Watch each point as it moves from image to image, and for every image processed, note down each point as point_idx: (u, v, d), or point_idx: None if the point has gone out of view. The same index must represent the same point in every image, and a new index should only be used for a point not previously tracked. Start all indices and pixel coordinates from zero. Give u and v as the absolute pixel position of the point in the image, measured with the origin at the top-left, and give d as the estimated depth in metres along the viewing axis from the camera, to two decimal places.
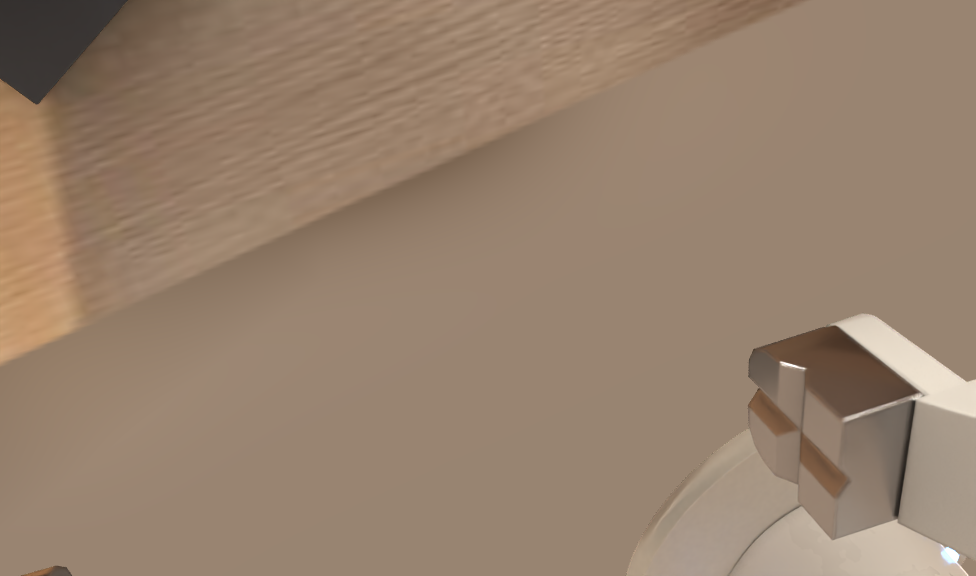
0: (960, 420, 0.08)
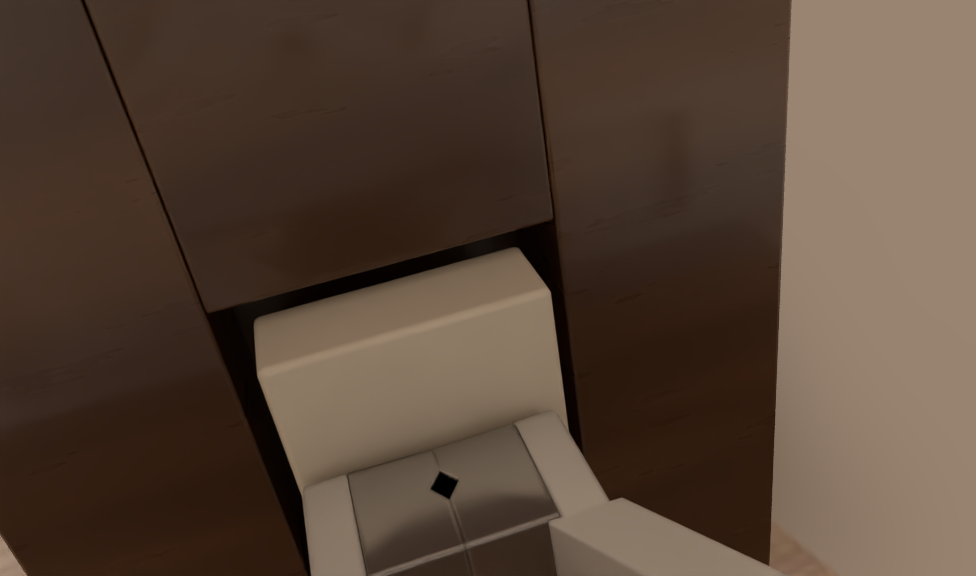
0: (583, 549, 0.07)
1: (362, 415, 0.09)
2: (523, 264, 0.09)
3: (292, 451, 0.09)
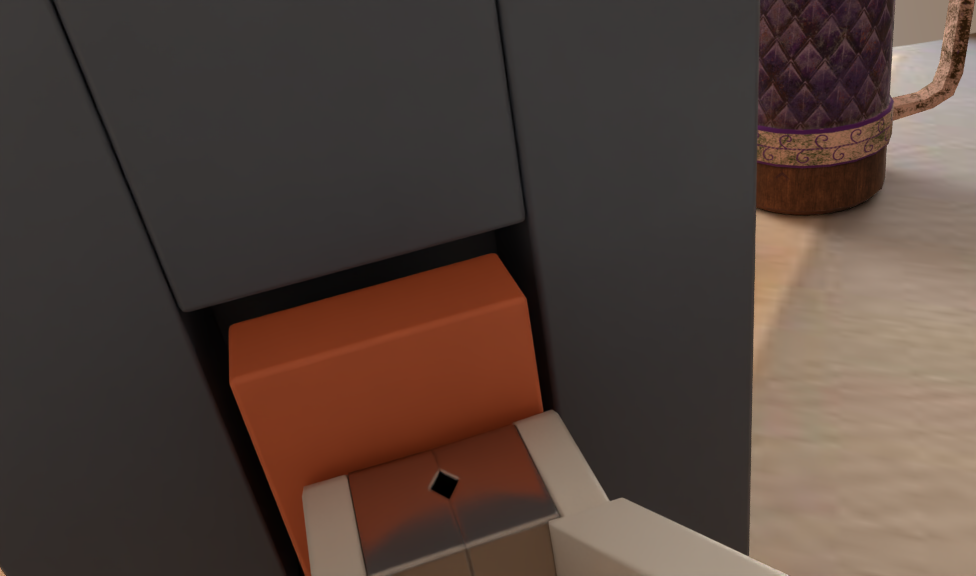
0: (583, 549, 0.07)
1: None
2: None
3: None
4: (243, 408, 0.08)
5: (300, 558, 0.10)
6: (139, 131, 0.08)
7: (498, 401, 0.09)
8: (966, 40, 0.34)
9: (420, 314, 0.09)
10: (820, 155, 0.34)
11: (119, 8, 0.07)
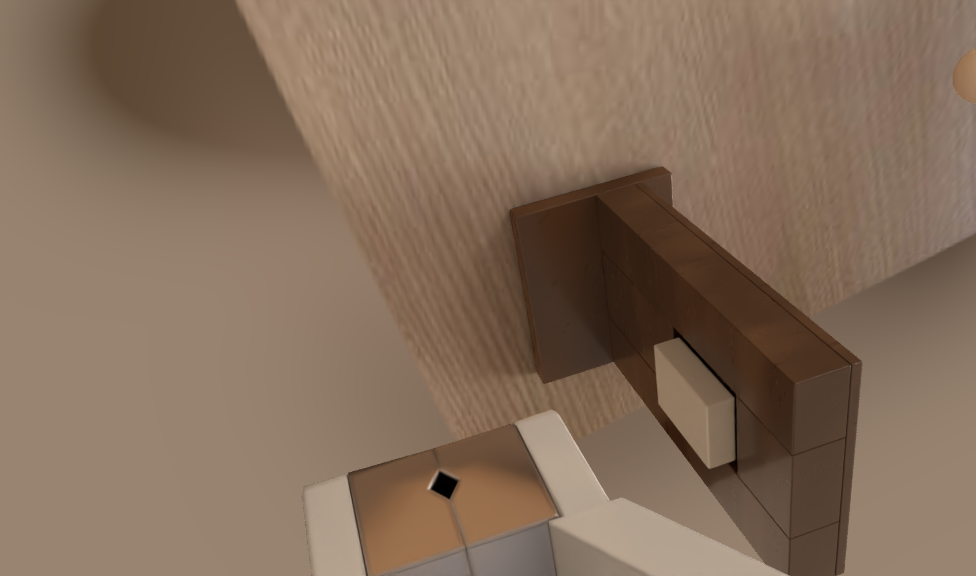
0: (583, 548, 0.07)
1: (695, 411, 0.31)
2: (724, 462, 0.32)
3: (692, 391, 0.31)
4: None
5: None
6: None
7: None
8: None
9: None
10: None
11: None
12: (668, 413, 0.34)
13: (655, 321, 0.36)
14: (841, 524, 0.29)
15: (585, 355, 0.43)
